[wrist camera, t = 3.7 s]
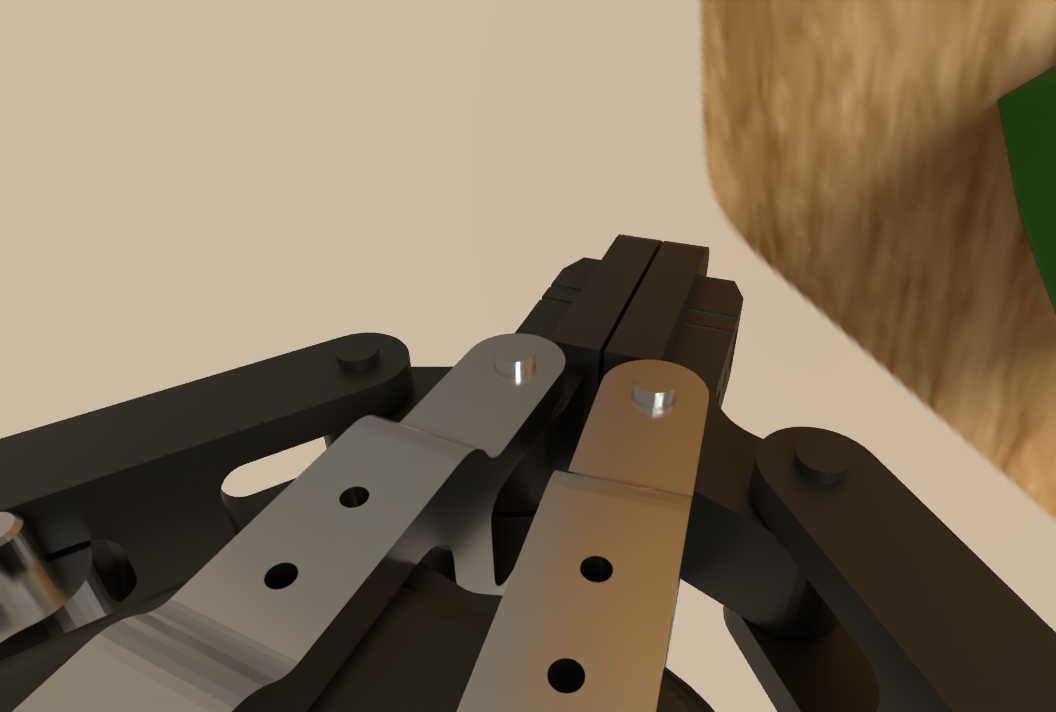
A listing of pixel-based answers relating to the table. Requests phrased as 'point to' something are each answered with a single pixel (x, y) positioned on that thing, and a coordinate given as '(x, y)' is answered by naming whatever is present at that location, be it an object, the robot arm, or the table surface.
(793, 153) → the table surface
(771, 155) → the table surface
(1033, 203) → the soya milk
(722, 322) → the robot arm
